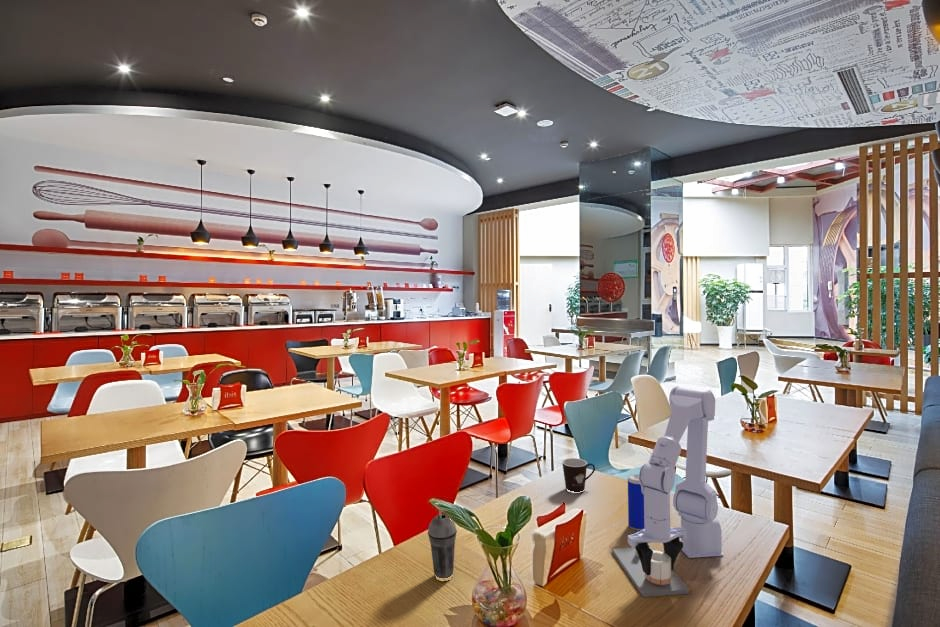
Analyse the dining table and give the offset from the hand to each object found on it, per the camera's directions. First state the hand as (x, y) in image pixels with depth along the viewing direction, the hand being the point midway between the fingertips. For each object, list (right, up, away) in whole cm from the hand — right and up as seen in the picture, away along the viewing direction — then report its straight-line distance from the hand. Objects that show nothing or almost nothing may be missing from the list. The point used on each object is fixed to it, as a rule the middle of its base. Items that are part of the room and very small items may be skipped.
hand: (657, 570), depth 113 cm
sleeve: (0, -2, 0) cm, 2 cm away
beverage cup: (-51, -5, +6) cm, 52 cm away
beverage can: (+5, -2, +28) cm, 29 cm away
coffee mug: (-6, -2, +55) cm, 56 cm away
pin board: (0, -3, +6) cm, 6 cm away
